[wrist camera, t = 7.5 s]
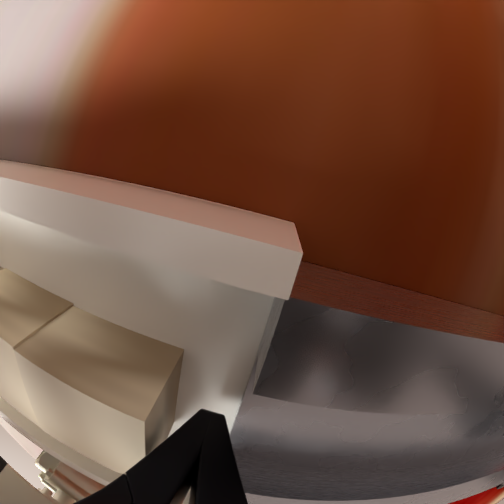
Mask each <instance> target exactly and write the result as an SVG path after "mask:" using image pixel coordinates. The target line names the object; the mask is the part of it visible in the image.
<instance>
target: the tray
mask: <svg viewBox="0 0 504 504" xmlns="http://www.w3.org/2000/svg"><path fill="white" fill-rule="evenodd" d="M302 255H303V251H302V247H301V244H300V241H299V237H298V234H297V230H296V227H295V224H294V223H293V222H289V221H286V220H282V219H278V218H275V217H271V216H267V215H263V214H259V213H256V212H252V211H248V210H244V209H240V208H236V207H232V206H228V205H224V204H220V203H216V202H212V201H208V200H204V199H200V198H195V197H191V196H187V195H183V194H178V193H174V192H169V191H165V190H161V189H156V188H152V187H147V186H142V185H138V184H133V183H128V182H123V181H119V180H114V179H109V178H104V177H99V176H94V175H89V174H83V173H78V172H73V171H67V170H62V169H56V168H50V167H44V166H38V165H32V164H26V163H20V162H13V161H7V160H0V266H1V267H2V268H4V269H5V268H7V269H8V270H10V271H12V272H14V273H15V274H17V275H19V276H21V277H22V278H24V279H26V280H28V281H30V282H32V283H34V284H35V285H37V286H39V287H41V288H43V289H45V290H47V291H49V292H51V293H53V294H55V295H57V296H59V297H61V298H63V299H65V300H67V301H70V302H72V303H73V304H74V306H75V307H77V308H79V309H82V310H84V311H86V312H88V313H91V314H93V315H95V316H97V317H100V318H102V319H104V320H107V321H109V322H112V323H114V324H116V325H119V326H121V327H124V328H126V329H129V330H132V331H134V332H137V333H139V334H142V335H145V336H148V337H150V338H153V339H156V340H159V341H161V342H164V343H167V344H170V345H173V346H176V347H179V348H182V349H184V354H183V360H182V367H181V374H180V381H179V388H178V395H177V403H176V411H175V419H174V424H173V426H172V428H171V431H170V433H169V435H168V437H169V436H170V435H172V434H173V433H174V432H175V431H176V430H177V429H179V428H180V427H181V426H182V425H183V424H184V423H185V422H186V421H188V420H189V419H190V418H191V417H192V416H193V415H194V414H195V413H197V412H198V411H199V410H200V409H206V410H209V411H213V412H216V413H220V414H223V415H224V416H225V418H226V422H227V426H228V430H229V433H230V430H231V428H232V425H233V422H234V419H235V416H236V413H237V411H238V408H239V405H240V402H241V399H242V396H243V393H244V390H245V387H246V385H247V382H248V379H249V376H250V373H251V370H252V367H253V364H254V361H255V358H256V355H257V352H258V348H259V345H260V342H261V339H262V336H263V333H264V330H265V327H266V324H267V320H268V317H269V314H270V311H271V308H272V304H273V301H274V298H275V297H277V298H281V299H285V300H289V297H290V294H291V291H292V287H293V284H294V281H295V278H296V275H297V272H298V268H299V265H300V262H301V259H302ZM0 416H1V417H2V418H3V419H4V420H5V421H6V422H8V423H9V424H10V425H11V426H12V427H14V428H15V429H16V430H17V431H19V432H20V433H21V434H22V435H24V436H25V437H26V438H28V439H29V440H30V441H32V442H33V443H34V444H36V445H37V446H39V447H40V448H42V449H43V450H44V451H46V452H47V453H49V454H50V455H52V456H53V457H55V458H56V459H58V460H60V461H61V462H63V463H64V464H66V465H68V466H69V467H71V468H73V469H75V470H76V471H78V472H80V473H82V474H83V475H85V476H87V477H89V478H91V479H93V480H95V481H97V482H99V483H101V484H103V485H105V486H107V485H108V484H110V483H111V482H112V481H114V480H115V479H117V478H118V477H119V476H121V475H122V474H120V473H117V472H115V471H113V470H111V469H109V468H107V467H105V466H103V465H101V464H99V463H97V462H95V461H93V460H91V459H89V458H87V457H85V456H84V455H82V454H80V453H78V452H76V451H75V450H73V449H71V448H70V447H68V446H66V445H65V444H63V443H61V442H60V441H58V440H57V439H55V438H53V437H52V436H50V435H49V434H47V433H46V432H44V431H43V430H41V428H40V427H39V426H37V425H36V424H34V423H33V422H32V421H30V420H29V419H28V418H26V417H25V416H24V415H22V414H21V413H20V412H18V411H17V410H16V409H15V408H13V407H12V406H11V405H10V404H8V403H7V402H6V401H5V400H4V399H3V398H1V397H0ZM190 490H191V487H190V489H189V491H188V493H187V495H186V497H185V499H184V501H183V503H182V504H189V497H190Z"/></svg>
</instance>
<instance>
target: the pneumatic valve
mask: <svg viewBox="0 0 504 504" xmlns="http://www.w3.org/2000/svg"><path fill="white" fill-rule="evenodd" d="M35 465H36V466H37V467H38V468H39V469H41V470H42V472H41V473H40V474H39V476H38V477H39V478H41V482H42V483H43V484H44V485H46V486H47V487H48V488H49V489H51V490H52V491H53V492H55V494H54V496H53V497H51V495H52V492H51V491H50V490H49V489H48V488H46V487H44V489H43V490H41V489H40V488H38V489H36V488H35V487H33V486H32V485H31V484H30V483H29V482H28V481H26V480H25V479H24V478H23V477H22V476H21V475H20V474H18V473H17V472H16V471H15V470H14V469H13V468H12V467H11V466H10V465H9V464H8V463H7V462H6V461H5V460H4V459H3V458H2V457H1V456H0V504H73V503H75V502H77V501H79V500H81V499H83V498H86V497H88V496H89V495H91V494H93V493H95V492H97V491H99V490H100V489H102V488H104V487H105V485H103V484H101V483H99V482H97V481H95V480H93V479H91V478H89V477H87V476H85V475H83V474H82V473H80V472H78V471H76V470H75V469H73V468H71V467H69V466H68V465H66V464H64V463H63V462H61V461H60V460H58V459H56V458H55V457H53V456H52V455H50V454H49V453H47V452H46V451H44V450H43V451H42V453H41V454H40V455H39V457H38V458H37V459H36V461H35Z"/></svg>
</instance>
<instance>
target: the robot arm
mask: <svg viewBox="0 0 504 504" xmlns="http://www.w3.org/2000/svg"><path fill="white" fill-rule="evenodd" d="M190 487H191V490H190V497H189V504H248V502H247V498H246V495H245V491H244V488H243V484H242V481H241V477H240V473H239V470H238V466H237V462H236V458H235V454H234V451H233V447H232V443H231V439H230V434H229V430H228V426H227V422H226V418H225V416H224V415H223V414H220V413H216V412H213V411H209V410H206V409H200V410H199V411H198V412H197V413H195V414H194V415H193V416H192V417H191V418H190V419H189V420H188V421H186V422H185V423H184V424H183V425H182V426H181V427H180V428H179V429H177V430H176V431H175V432H174V433H173V434H172V435H170V436H169V437H168V438H167V439H166V440H165V441H163V442H162V443H161V444H160V445H159V446H157V447H156V448H155V449H154V450H153V451H151V452H150V453H149V454H148V455H146V456H145V457H144V458H143V459H141V460H140V461H139V462H138V463H136V464H135V465H134V466H133V467H131V468H130V469H129V470H127V471H126V472H125V474H122V475H121V476H119V477H118V478H117V479H115V480H114V481H112V482H111V483H110V484H108V485H107V486H105V487H104V488H102V489H100V490H99V491H97V492H95V493H93V494H91V495H89V496H88V497H86V498H83V499H81V500H79V501H77V502H75V503H73V504H182V503H183V501H184V499H185V497H186V495H187V493H188V491H189V489H190ZM496 487H497V489H500V488H502V487H504V483H502V484H500V485H498V486H496Z"/></svg>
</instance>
